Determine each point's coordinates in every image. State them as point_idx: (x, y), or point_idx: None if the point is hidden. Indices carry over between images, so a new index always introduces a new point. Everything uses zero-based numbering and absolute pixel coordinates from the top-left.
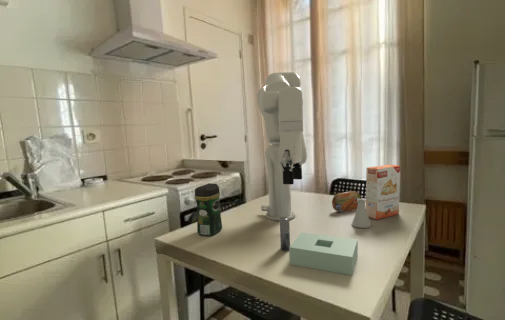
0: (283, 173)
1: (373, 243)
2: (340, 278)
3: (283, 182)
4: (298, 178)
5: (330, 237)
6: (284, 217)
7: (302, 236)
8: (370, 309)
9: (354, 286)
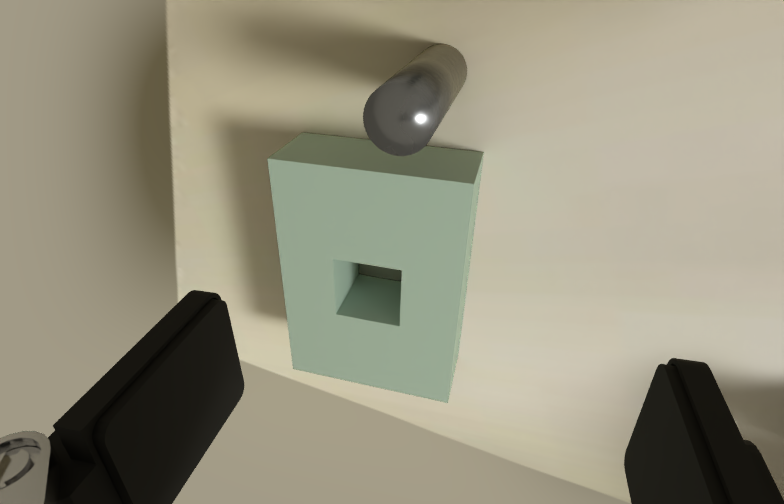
0: (89, 403)
1: (590, 416)
2: None
3: (185, 302)
4: (633, 440)
5: (440, 317)
6: (426, 113)
7: (413, 198)
8: None
9: (267, 326)
